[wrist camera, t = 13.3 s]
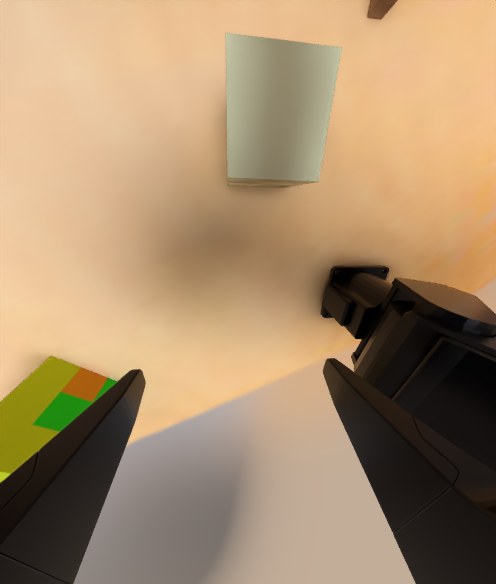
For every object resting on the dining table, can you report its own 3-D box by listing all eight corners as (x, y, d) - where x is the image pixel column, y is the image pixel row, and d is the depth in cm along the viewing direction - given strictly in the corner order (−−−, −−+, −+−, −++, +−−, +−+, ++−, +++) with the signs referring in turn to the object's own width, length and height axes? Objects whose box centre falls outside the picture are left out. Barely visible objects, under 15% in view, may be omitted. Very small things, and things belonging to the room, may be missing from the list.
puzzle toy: (23, 399, 25) (-90, 511, 16) (51, 355, 22) (-66, 460, 13) (100, 422, 29) (43, 523, 20) (132, 387, 26) (83, 485, 17)
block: (292, 112, 14) (341, 47, 8) (284, 187, 16) (318, 181, 10) (226, 107, 14) (225, 32, 8) (227, 185, 16) (227, 177, 10)
